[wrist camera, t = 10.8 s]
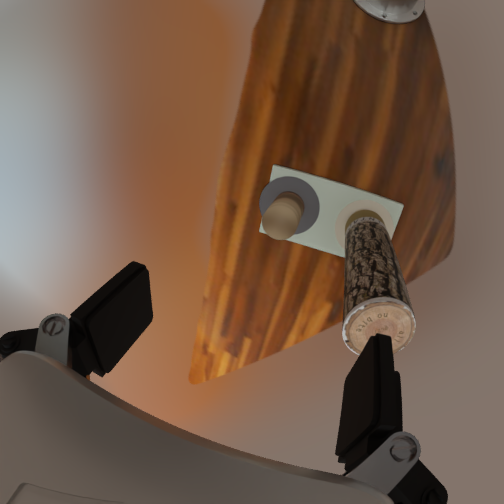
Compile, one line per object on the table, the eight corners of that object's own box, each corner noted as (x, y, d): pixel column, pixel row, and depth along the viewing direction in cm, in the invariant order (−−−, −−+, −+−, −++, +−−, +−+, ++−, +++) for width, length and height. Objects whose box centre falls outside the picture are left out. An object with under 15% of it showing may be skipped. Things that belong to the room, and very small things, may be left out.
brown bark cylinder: (390, 238, 43) (422, 344, 22) (354, 253, 46) (356, 365, 25) (375, 201, 42) (405, 289, 20) (337, 218, 45) (330, 316, 23)
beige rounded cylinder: (277, 187, 45) (265, 201, 39) (307, 196, 45) (301, 211, 38) (270, 216, 48) (258, 234, 41) (300, 224, 47) (292, 244, 40)
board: (268, 162, 45) (266, 163, 44) (402, 203, 41) (404, 205, 40) (255, 228, 51) (253, 230, 50) (378, 265, 47) (378, 268, 46)
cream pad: (344, 191, 43) (344, 191, 42) (401, 211, 41) (402, 211, 41) (327, 246, 47) (327, 247, 47) (380, 263, 46) (381, 264, 46)
